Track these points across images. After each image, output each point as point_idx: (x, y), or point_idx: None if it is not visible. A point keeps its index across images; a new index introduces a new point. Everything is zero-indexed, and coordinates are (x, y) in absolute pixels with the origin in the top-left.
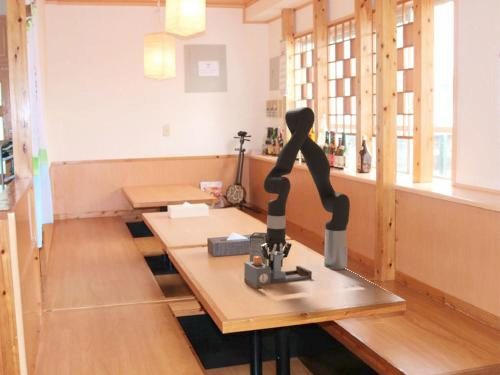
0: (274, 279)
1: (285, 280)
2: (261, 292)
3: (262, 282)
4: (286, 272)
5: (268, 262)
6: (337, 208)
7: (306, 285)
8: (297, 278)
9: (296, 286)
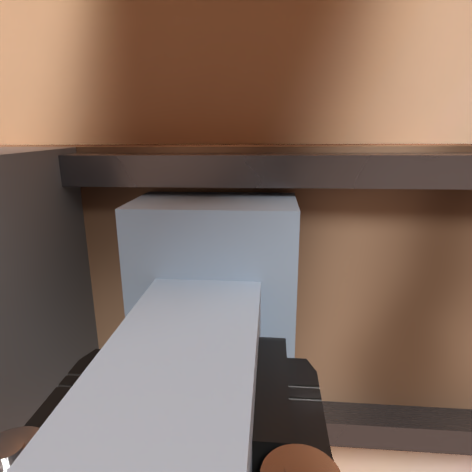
0: None
1: None
2: None
3: None
4: (461, 188)
5: (43, 408)
6: None
7: (446, 459)
8: (414, 444)
9: (346, 448)
